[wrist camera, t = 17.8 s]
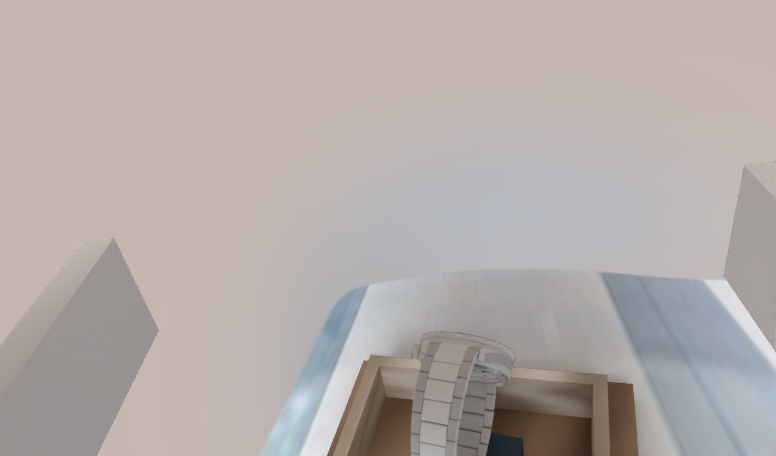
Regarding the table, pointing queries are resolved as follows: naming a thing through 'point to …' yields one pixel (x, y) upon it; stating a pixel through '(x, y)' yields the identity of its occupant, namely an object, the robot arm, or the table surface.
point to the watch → (459, 396)
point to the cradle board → (495, 412)
